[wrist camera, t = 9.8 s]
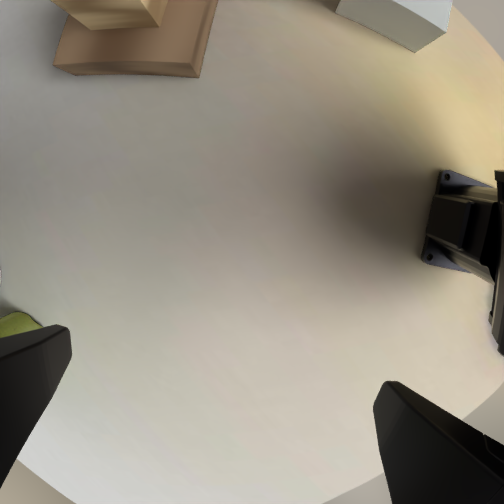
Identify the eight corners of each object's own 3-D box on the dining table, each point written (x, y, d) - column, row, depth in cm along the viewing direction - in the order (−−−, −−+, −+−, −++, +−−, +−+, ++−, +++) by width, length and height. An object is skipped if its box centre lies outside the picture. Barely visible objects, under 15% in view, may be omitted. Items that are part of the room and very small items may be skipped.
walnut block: (227, -32, 15) (223, -56, 12) (199, 78, 18) (189, 63, 15) (109, -27, 15) (94, -46, 12) (75, 75, 17) (52, 65, 14)
